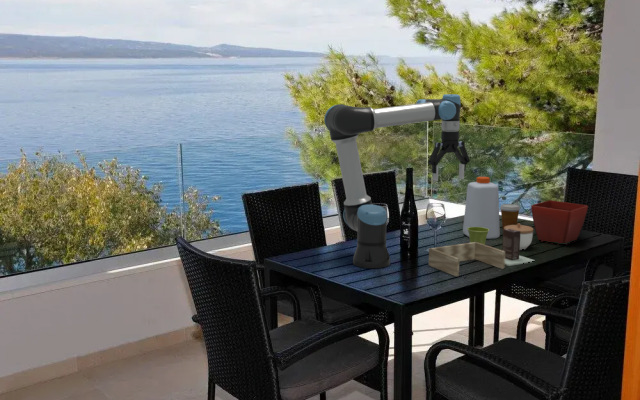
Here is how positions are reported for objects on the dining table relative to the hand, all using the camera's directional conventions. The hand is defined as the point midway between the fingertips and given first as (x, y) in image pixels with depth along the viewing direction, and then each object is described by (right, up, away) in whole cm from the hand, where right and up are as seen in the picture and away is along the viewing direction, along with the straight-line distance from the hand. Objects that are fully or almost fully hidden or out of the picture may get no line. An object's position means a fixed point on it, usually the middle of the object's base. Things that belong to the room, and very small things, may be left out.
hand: (448, 179), depth 319 cm
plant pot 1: (+14, -30, +7) cm, 34 cm away
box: (+24, -33, -13) cm, 43 cm away
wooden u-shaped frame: (+3, -36, -23) cm, 43 cm away
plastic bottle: (+21, -26, +31) cm, 45 cm away
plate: (+23, -34, -13) cm, 43 cm away
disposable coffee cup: (+37, -23, +44) cm, 62 cm away
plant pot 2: (+54, -28, +20) cm, 64 cm away
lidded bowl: (+32, -30, +7) cm, 45 cm away
